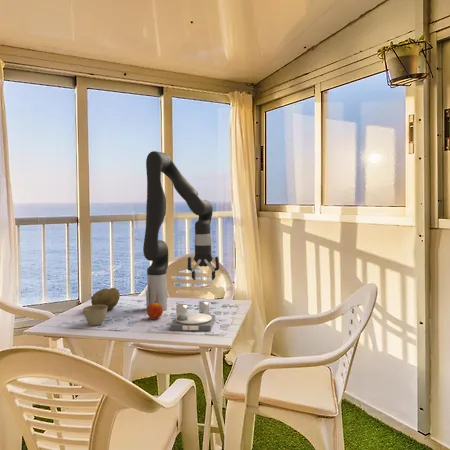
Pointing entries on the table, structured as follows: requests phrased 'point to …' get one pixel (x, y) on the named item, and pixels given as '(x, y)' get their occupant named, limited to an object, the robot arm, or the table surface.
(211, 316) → the scale
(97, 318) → the flower pot
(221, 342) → the table surface
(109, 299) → the decorative stone
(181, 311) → the cylinder
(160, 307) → the fruit
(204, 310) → the cylinder
